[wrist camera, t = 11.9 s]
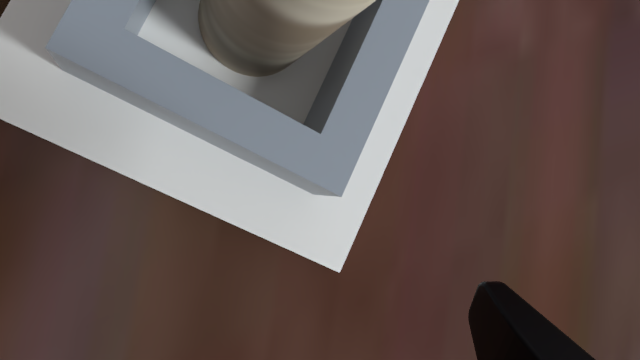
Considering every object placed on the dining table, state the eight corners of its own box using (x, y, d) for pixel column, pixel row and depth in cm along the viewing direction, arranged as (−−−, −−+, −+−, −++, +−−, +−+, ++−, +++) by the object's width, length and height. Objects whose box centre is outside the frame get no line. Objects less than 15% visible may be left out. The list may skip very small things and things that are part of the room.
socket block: (330, 268, 21) (371, 288, 17) (-36, 102, 17) (-88, 80, 13) (460, -27, 23) (523, -69, 19) (160, -238, 19) (163, -343, 15)
